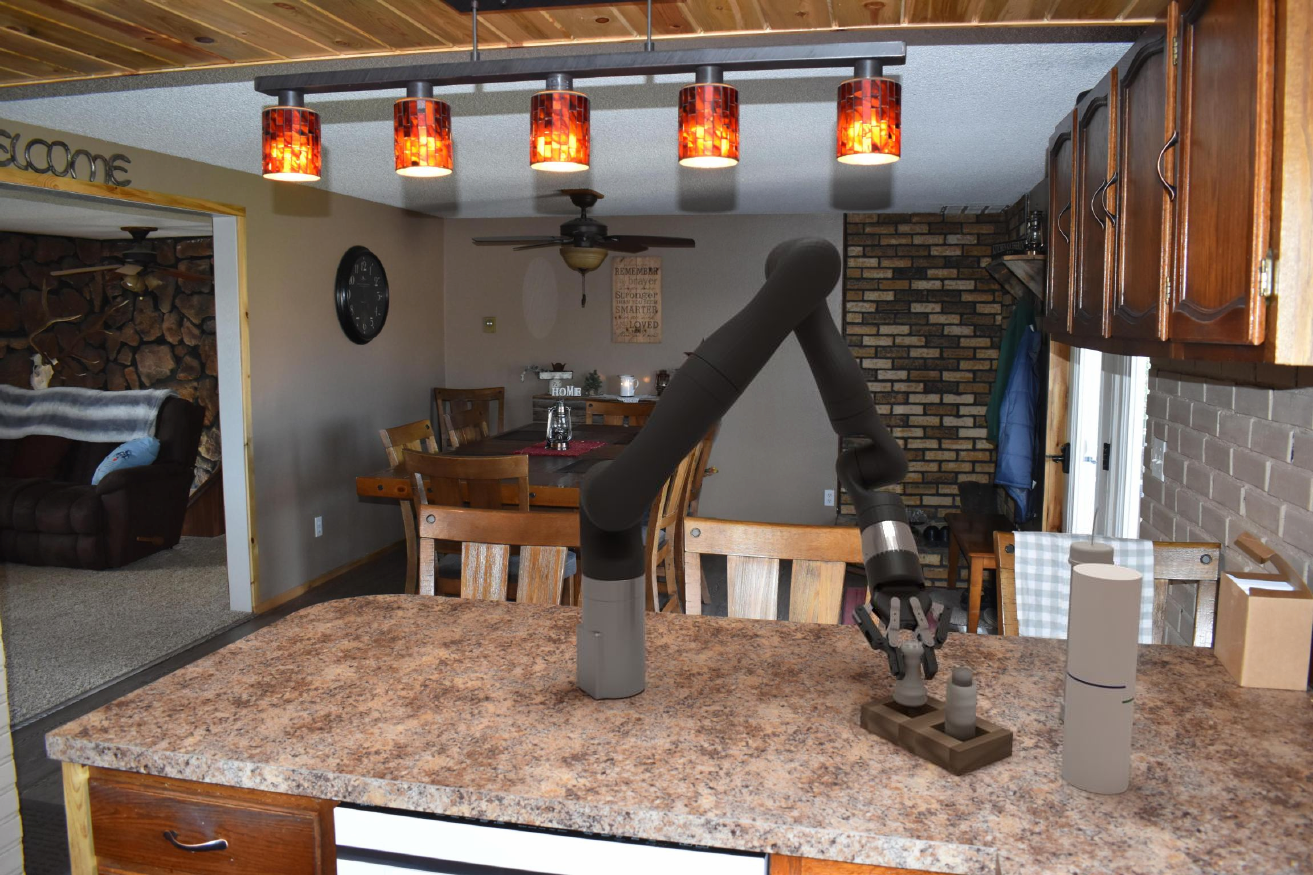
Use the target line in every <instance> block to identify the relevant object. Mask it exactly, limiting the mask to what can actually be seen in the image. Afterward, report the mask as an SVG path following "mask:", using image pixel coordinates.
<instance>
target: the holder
mask: <svg viewBox="0 0 1313 875" xmlns="http://www.w3.org/2000/svg"><path fill="white" fill-rule="evenodd" d="M973 673H974V672H973V670H972V669H971V668H967V667H963V666H956V667H953V668H952V670H951V677H949V678H948V679H947V680H946V684H945V685H946V688H945V702H944V701H942V700H940V699H937V698H935V697H933V696H931V695H928V694H927V695H926V697H927V698H928V699H927V702H926V703H925V704H924V705H922V706H918V707H910V706H904V705H901V704H899V703H897V702H896V700H895V699H894V697H893V694H892V695H888V696H886V697H882V698H879V699H875V700H871V701H869V702H865V703H861V704H860V721H859V726H860V727H861V728H862V729H865V730H867V731H869V732H870V733H872V734H875V735H877V736H879V737H880V738H883V739H884V740H886V741H888V742H890V743H892V744H894V745H896V746H898V747H900V748H902V749H903V750H906V751H908V752H909V753H912V754H914V755H916V756H918V757H920V758H921V759H924V760H926V761H928V762H930V763H932V764H933V765H936V766H937V767H939V768H941V769H943V770H945V771H947V772H950V773H951V774H953V775H955V776H957V777H959V776H962V775H964V774H967V773H969V772H972V771H975V770H977V769H979V768H982V767H985V766H989V765H991V764H993V763H996V762H998V761H1000V760H1003V759H1006V758H1008V757H1010V756H1013V744H1014V743H1013V742H1014V732H1013V731H1012V730H1010V729H1008V728H1004V727H1003V726H1000V725H998V724H995V723H994V722H992V721H988V720H986V719H984V718H982V717H979V716H977V700H978V699H977V698H978V683H977V682H976V681H974V680H973Z"/></svg>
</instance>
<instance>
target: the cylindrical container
mask: <svg viewBox="0 0 1313 875" xmlns="http://www.w3.org/2000/svg"><path fill="white" fill-rule="evenodd" d="M1143 577H1144V575H1143V573H1141V571H1138V570H1136V569H1133V568H1130V567H1125V566H1121V565H1116V564H1114V565H1109V564H1096V563H1089V564H1079V565H1076V566H1074V567H1073V579H1072V596H1071V612H1070V629H1069V647H1068V664H1067V681H1066V698H1065V715H1064V722H1063V736H1062V738H1063V739H1062V749H1061V751H1062V753H1061V769H1060V774H1061V777H1062V779H1063V780H1064V781H1065V782H1067V784H1070V785H1071V786H1073V787H1074V788H1076V789H1080V790H1083V791H1085V790H1086V791H1085V792H1089V793H1092V794H1098V795H1118V794H1122V793H1124V792H1126V791H1127V790H1128V789H1129V783H1130V766H1131V756H1132V755H1131V754H1132V753H1131V752H1132V751H1131V750H1132V738H1133V736H1132V735H1133V725H1134V724H1133V722H1134V707H1135V696H1136V695H1135V692H1136V680H1137V678H1136V677H1137V664H1138V662H1137V661H1138V650H1139V634H1140V623H1141V622H1140V619H1141V608H1142V607H1141V606H1142V605H1141V604H1142V592H1143V591H1142V590H1143Z"/></svg>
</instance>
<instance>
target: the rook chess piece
mask: <svg viewBox="0 0 1313 875" xmlns="http://www.w3.org/2000/svg"><path fill="white" fill-rule="evenodd" d="M918 641H919V640H916V639H914V642H912V638H907V639H903V640H902V641H901V645H900V646H898V648H901V653H902V658H903V663H904V668H905V677H904V679H903V680H896V683H895V684H894V687H893V691H894V693H893V694H892V695H893V697H894V699H895V700H896V702H897V703H899V704H901V705H904V706H910V707H918V706H922V705H924V704H925V703H926V702H927V699H928V698H927V697H926V695H928V689H927V687H926V686H925V683H924V681H923V677H922V669H921V668H922V660H921V655H922V654H923V653H924V651H925V650H924V649H923V647H922V642H919V644H918Z"/></svg>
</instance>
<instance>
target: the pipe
mask: <svg viewBox="0 0 1313 875" xmlns="http://www.w3.org/2000/svg"><path fill="white" fill-rule="evenodd" d="M1098 511H1099V506H1096V509H1095V512H1094V515H1093V516H1094V517H1093V523H1092V531H1091V540H1089V541H1087V540H1079V541H1078V540H1077V541H1074V542H1071V544H1070V545H1069V556H1068V558H1067V563H1068V565H1069V564H1070V579H1069V580H1070V583H1069V598H1068V599H1069V600H1068V613H1067V614H1068V616H1067V628H1066V629H1067V632H1066V651H1065V665H1064V666H1065V667H1064V680H1063V681H1064V684H1063V696H1062V697H1060V699H1059V706H1060V715H1059V717H1060V719H1061V721H1062V722H1063V723H1064V715H1065V698H1066V681H1067V664H1068V647H1069V629H1070V612H1071V596H1072V579H1073V567H1074V566H1076V565H1079V564H1089V563H1096V564H1109V565H1115V561H1114V553H1115V547H1113V546H1112V545H1110V544H1108V543H1104V542H1099V541H1094V535H1095V528H1096V526H1095V525H1096V519H1097V515H1098Z"/></svg>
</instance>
